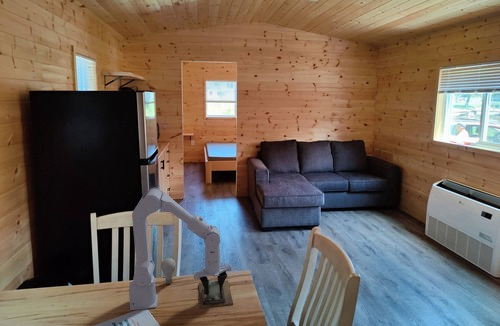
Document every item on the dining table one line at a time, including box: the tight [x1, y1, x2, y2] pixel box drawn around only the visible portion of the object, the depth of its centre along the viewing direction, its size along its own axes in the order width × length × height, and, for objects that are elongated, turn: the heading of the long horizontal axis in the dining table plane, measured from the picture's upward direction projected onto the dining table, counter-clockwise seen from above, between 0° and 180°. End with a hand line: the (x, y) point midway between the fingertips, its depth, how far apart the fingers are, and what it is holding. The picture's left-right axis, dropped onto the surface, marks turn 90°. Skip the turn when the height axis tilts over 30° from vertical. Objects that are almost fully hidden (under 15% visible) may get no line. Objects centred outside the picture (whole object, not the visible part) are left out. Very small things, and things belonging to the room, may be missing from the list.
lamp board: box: [198, 279, 234, 309], centre depth 141 cm, size 12×16×1 cm
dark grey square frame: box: [202, 288, 225, 305], centre depth 138 cm, size 8×8×1 cm
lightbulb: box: [160, 257, 177, 285], centre depth 148 cm, size 6×6×11 cm
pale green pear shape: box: [207, 279, 220, 299], centre depth 138 cm, size 6×5×5 cm
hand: (213, 291), depth 138 cm, fingers closed on pale green pear shape, 5 cm apart
